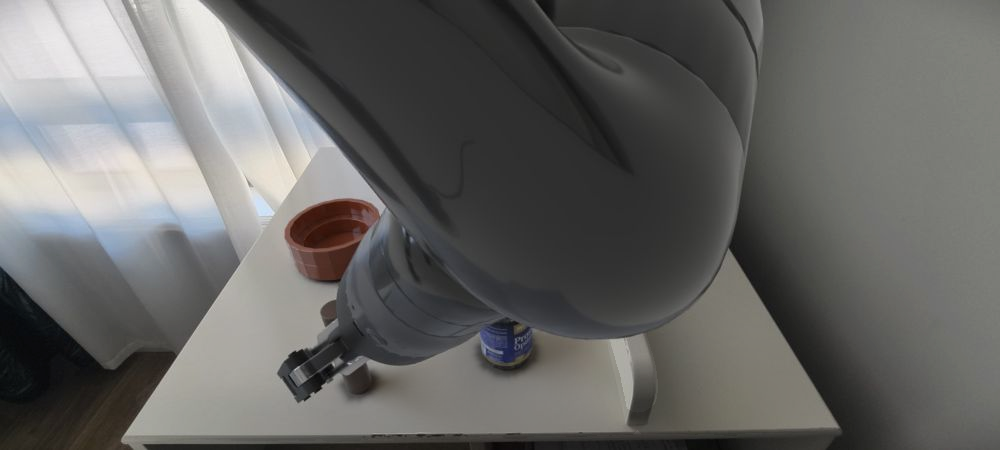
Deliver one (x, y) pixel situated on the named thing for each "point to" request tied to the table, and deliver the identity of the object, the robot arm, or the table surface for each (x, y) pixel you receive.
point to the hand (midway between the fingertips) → (365, 334)
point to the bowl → (328, 236)
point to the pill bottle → (506, 344)
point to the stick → (361, 376)
